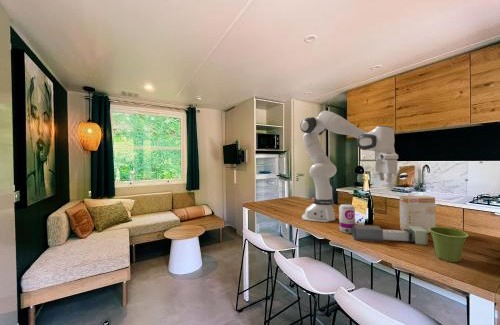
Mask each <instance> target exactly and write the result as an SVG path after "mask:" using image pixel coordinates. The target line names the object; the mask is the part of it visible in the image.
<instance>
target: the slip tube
mask: <svg viewBox="0 0 500 325" xmlns="http://www.w3.org/2000/svg"><path fill="white" fill-rule="evenodd" d="M381 229H382V230H383V241H398V242H409V243H415V232H414V231H409V230H408V229H404V230H401V229H400V230H399V229H383V228H381Z"/></svg>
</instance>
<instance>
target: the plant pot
mask: <svg viewBox="0 0 500 325" xmlns="http://www.w3.org/2000/svg"><path fill="white" fill-rule="evenodd" d="M429 230H430V231H431V233H430V235H431V236H432V242H433V246H434V251H435V252H434V253H435V256H436V257H437V258H438V259H441V260H443V261H446V262H450V263H458V262H460V261H461V259H462V258H461V257H462V254H463V250H464V245H465V243H466V241H467V238H468V237H469V234H468V233H467V232H465V231H463V230H459V229H455V228H452V227H451V228H450V227H444V226H436V227H430V228H429Z"/></svg>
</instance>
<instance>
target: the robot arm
mask: <svg viewBox="0 0 500 325" xmlns="http://www.w3.org/2000/svg"><path fill="white" fill-rule="evenodd" d="M299 127H300V131H301V132H302V133H304V134H303V135H302V142H303V146H304V148H305V152H306V154H307V155H308V159H309V160H310V161H312V162H313V164H312V165H311V166H310V167H309V172H308V174H309V176H310V177H311V178H312V179H313V183H314V187H315V197H312V198H311V200H312V203H311V204H309V206H307V207H306V208H305V211H304V213H303V214H302V215H301V219H302V220H303V221H310V222H321V223H329V222H333V221H335V220H336V216H335V212H334V198H333V187H332V185H331V183H330V180H329V179H330V178H332V177H334V176H335V175H336V173H337V166H336V165H335V164H333V162H332V161H331V160H330V158H329V157H328V156H327V154H326V152H325V151H324V149H323V146H322V144H321V142H320V139H319V136H322V134H323V133H324V132H325V131H330V132H331V133H334V134H338V135H345V136H351V137H353V138H355V139H356V146H357V147H358V148H359V150H362V151H368V152H369V151H370V152H371V151H372V152H373V151H374V152H375V154H374V155H375V156H374V158H375V171H376V172H377V173H378V176H379V180H380V181H381V182H382V181H383V182H385V176H384V174H386V183H388V184H389V183H392V179H393V175H396V174H397V173H398V159H399V154H397V153H396V150H395V139H396V138H395V131H394V128H393V127H392V126H388V125H377V126H375V128H373V129H371V130H370V131H366V130H365V129H363V128H360V127H358V126H356V125H355V124H354V123H351V122H350V121H348V120H347V119H346V118H344V117H342V116H341V115H339V114H337V113H335V112H332V111H329V110H323V111H321V112H319V114H318V115H317V116H316V117H315V116H312V117H305V118H303V119H302V120H301V122H300V125H299Z"/></svg>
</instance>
